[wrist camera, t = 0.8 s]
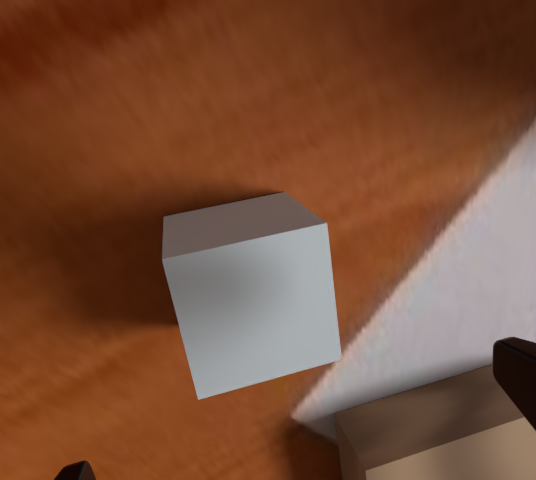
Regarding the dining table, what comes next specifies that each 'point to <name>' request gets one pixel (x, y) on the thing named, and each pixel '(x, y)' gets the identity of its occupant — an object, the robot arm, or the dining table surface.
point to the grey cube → (251, 291)
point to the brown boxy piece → (438, 434)
